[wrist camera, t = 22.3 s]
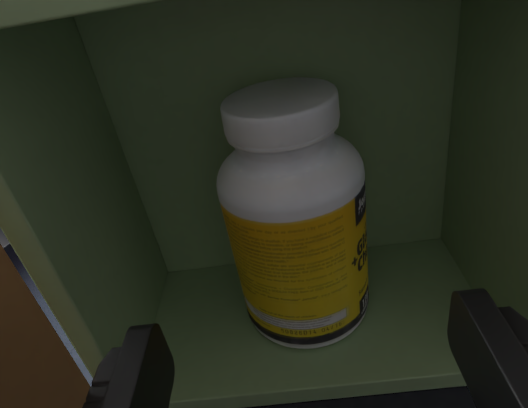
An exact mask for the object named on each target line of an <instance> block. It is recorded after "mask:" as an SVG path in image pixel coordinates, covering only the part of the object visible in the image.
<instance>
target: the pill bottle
mask: <svg viewBox="0 0 528 408" xmlns="http://www.w3.org/2000/svg"><path fill="white" fill-rule="evenodd" d="M220 111H221V117H222V123H223V128H224V134H225V136H226V139H227V141H228V143H229V144H230V145H231V146H233V147H234V148H235V150H234V151H233V152H232V153H231V154H230V155H229V156H228V157H227V158H226V159H225V160H224V162H223V163H222V165H221V167H220V169H219V171H218V175H217V181H216V187H217V194H218V198H219V202H220V205H221V209H222V213H223V217H224V221H225V224H226V228H227V232H228V236H229V240H230V244H231V248H232V252H233V256H234V260H235V263H236V267H237V271H238V275H239V278H240V282H241V286H242V291H243V295H244V299H245V303H246V308H247V311H248V315H249V317H250V319H251V321H252V323H253V324H254V326H255V327H256V329H257V330H258V331H259V332H260V333H261V334H262V335H264V336H265V337H266V338H268V339H269V340H271V341H273V342H275V343H277V344H280V345H283V346H286V347H290V348H297V349H313V348H319V347H324V346H328V345H330V344H333V343H336V342H338V341H340V340H341V339H343V338H345V337H346V336H348V335H349V334H350V333H352V332H353V331H354V330H355V329H356V328H357V327H358V325H359V324H360V322H361V321H362V319H363V318H364V315H365V313H366V310H367V307H368V301H369V285H368V257H367V230H366V194H365V170H364V164H363V160H362V158H361V156H360V154H359V152H358V151H357V150H356V148H355V147H354V146H353V145H352V144H351V143H350V142H349V141H347V140H346V139H344V138H343V137H341V136H339V135H337V134H335V133H334V132H335V130H336V129H337V128H338V126H339V119H340V110H339V97H338V90H337V88H336V86H335V85H334V84H333V83H331V82H329V81H326V80H323V79H318V78H307V77H292V78H281V79H275V80H269V81H265V82H260V83H256V84H253V85H250V86H247V87H244V88H242V89H240V90H237V91H235V92H233V93H232V94H230V95H229V96H227V97H226V98H225V99H224V100H223V102H222V103H221V106H220Z"/></svg>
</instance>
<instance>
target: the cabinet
mask: <svg viewBox="0 0 528 408" xmlns="http://www.w3.org/2000/svg"><path fill="white" fill-rule="evenodd" d="M292 77H307V78H318V79H323V80H326V81H329V82H331V83H333V84H334V85H335V86H336V88H337V90H338V97H339V110H340V119H339V126H338V128H337V129H336V130H335V132H334V133H335V134H337V135H339V136H341V137H343V138H344V139H346V140H347V141H349V142H350V143H351V144H352V145H353V146H354V147H355V148H356V150H357V151H358V152H359V154H360V156H361V158H362V160H363V164H364V170H365V194H366V230H367V257H368V285H369V301H368V307H367V310H366V313H365V315H364V318H363V319H362V321H361V322H360V324H359V325H358V327H357V328H356V329H355V330H354V331H353V332H352V333H350V334H349V335H348V336H346V337H345V338H343V339H341V340H340V341H338V342H336V343H333V344H330V345H328V346H324V347H319V348H313V349H297V348H290V347H286V346H283V345H280V344H277V343H275V342H273V341H271V340H269V339H268V338H266V337H265V336H264V335H262V334H261V333H260V332H259V331H258V330H257V329H256V327H255V326H254V324H253V323H252V321H251V319H250V317H249V315H248V311H247V308H246V303H245V299H244V295H243V291H242V286H241V282H240V278H239V275H238V271H237V267H236V263H235V260H234V256H233V252H232V248H231V244H230V240H229V236H228V232H227V228H226V224H225V221H224V217H223V213H222V209H221V205H220V202H219V198H218V194H217V187H216V181H217V175H218V171H219V169H220V167H221V165H222V163H223V162H224V160H225V159H226V158H227V157H228V156H229V155H230V154H231V153H232V152H233V151H234V150H235V148H234V147H233V146H231V145H230V144H229V143H228V141H227V139H226V136H225V134H224V128H223V123H222V117H221V111H220V106H221V103H222V102H223V100H224V99H225V98H226V97H227V96H229V95H230V94H232V93H233V92H235V91H237V90H240V89H242V88H244V87H247V86H250V85H253V84H256V83H260V82H265V81H269V80H275V79H281V78H292ZM0 228H1V229H2V231H3V232H4V234H5V236H6V237H7V239H8V241H9V242H10V244H11V246H12V247H13V249H14V251H15V252H16V254H17V255H18V257H19V259H20V260H21V262H22V264H23V265H24V267H25V268H26V270H27V272H28V273H29V275H30V277H31V278H32V280H33V281H34V283H35V285H36V286H37V288H38V290H39V291H40V293H41V294H42V296H43V298H44V299H45V301H46V303H47V304H48V306H49V307H50V309H51V311H52V312H53V314H54V316H55V317H56V319H57V320H58V322H59V324H60V325H61V327H62V329H63V330H64V332H65V333H66V335H67V337H68V338H69V340H70V342H71V343H72V345H73V346H74V348H75V350H76V351H77V353H78V355H79V356H80V358H81V360H82V361H83V363H84V364H85V366H86V368H87V369H88V371H89V373H90V374H91V376H92V377H93V378H94V376H95V373H96V370H97V368H98V365H99V364H100V362H101V361H102V360H103V359H104V357H105V356H106V355H107V353H108V352H109V351H110V350H111V348H114V347H122V344H123V341H124V338H125V335H126V332H127V330H128V328H129V327H130V326H135V325H144V324H153V323H158V324H159V326H160V327H161V330H162V332H163V334H164V337H165V339H166V342H167V344H168V346H169V349H170V351H171V354H172V356H173V359H174V366H175V376H174V383H173V388H172V393H171V398H170V403H169V408H245V407H255V406H266V405H276V404H286V403H296V402H306V401H316V400H327V399H337V398H347V397H357V396H367V395H378V394H388V393H398V392H408V391H418V390H429V389H439V388H449V387H459V386H467V385H466V383H465V380H464V378H463V376H462V374H461V372H460V369H459V367H458V365H457V363H456V361H455V358H454V356H453V354H452V352H451V349H450V346H449V341H448V335H447V327H448V319H449V310H450V302H451V295H452V292H453V291H460V290H469V289H478V288H484V289H485V290H487V292H488V293H489V294H490V296H491V297H492V299H493V301H494V302H495V304H496V305H497V307H507V306H510V307H512V308H513V309H514V310H515V311H517V312H518V313H519V314H521V315H522V316H523V317H525V318H526V319H527V320H528V0H0Z"/></svg>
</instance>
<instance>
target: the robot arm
mask: <svg viewBox="0 0 528 408" xmlns="http://www.w3.org/2000/svg"><path fill="white" fill-rule="evenodd" d="M447 335H448V341H449V346H450V349H451V352H452V354H453V356H454V358H455V361H456V363H457V365H458V367H459V369H460V372H461V374H462V376H463V378H464V380H465V383H466V385H467V387H468V389H469V391H470V393H471V396H472V398H473V400H474V402H475V404H476V407H477V408H528V320H527V319H526V318H525V317H523V316H522V315H521V314H519V313H518V312H517V311H515V310H514V309H513V308H512V307H510V306H507V307H497V305H496V304H495V302H494V301H493V299H492V297H491V296H490V294H489V293H488V292H487V290H485V289H484V288H478V289H469V290H460V291H453V292H452V295H451V302H450V310H449V319H448V327H447ZM174 376H175V366H174V359H173V356H172V354H171V351H170V349H169V346H168V344H167V342H166V339H165V337H164V334H163V332H162V330H161V327H160V326H159V324H158V323H153V324H144V325H135V326H130V327H129V328H128V330H127V332H126V335H125V338H124V341H123V344H122V347H114V348H111V350H110V351H109V352H108V353H107V355H106V356H105V357H104V359H103V360H102V361H101V362H100V364H99V365H98V368H97V370H96V373H95V376H94V378H93V381H92V387H90V389H89V391H88V394H87V397H86V402H85V403H84V404H83V407H82V408H169V403H170V398H171V393H172V388H173V383H174Z"/></svg>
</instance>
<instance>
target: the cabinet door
mask: <svg viewBox="0 0 528 408" xmlns="http://www.w3.org/2000/svg"><path fill="white" fill-rule="evenodd" d="M89 389H90V385H89V384H88V382H87V380H86V379H85V377H84V376H83V374H82V372H81V371H80V369H79V368H78V366H77V365H76V363H75V361H74V360H73V358H72V357H71V355H70V353H69V352H68V350H67V349H66V347H65V346H64V344H63V342H62V341H61V339H60V338H59V336H58V334H57V333H56V331H55V330H54V328H53V327H52V325H51V323H50V322H49V320H48V319H47V317H46V315H45V314H44V312H43V311H42V309H41V307H40V306H39V304H38V303H37V301H36V300H35V298H34V296H33V295H32V293H31V292H30V290H29V288H28V287H27V285H26V284H25V282H24V281H23V279H22V277H21V276H20V274H19V273H18V271H17V269H16V268H15V266H14V265H13V263H12V262H11V260H10V258H9V257H8V255H7V254H6V252H5V250H4V249H3V247H2V246H1V244H0V408H82V407H83V404H84V403H85V402H86V397H87V394H88V391H89Z"/></svg>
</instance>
